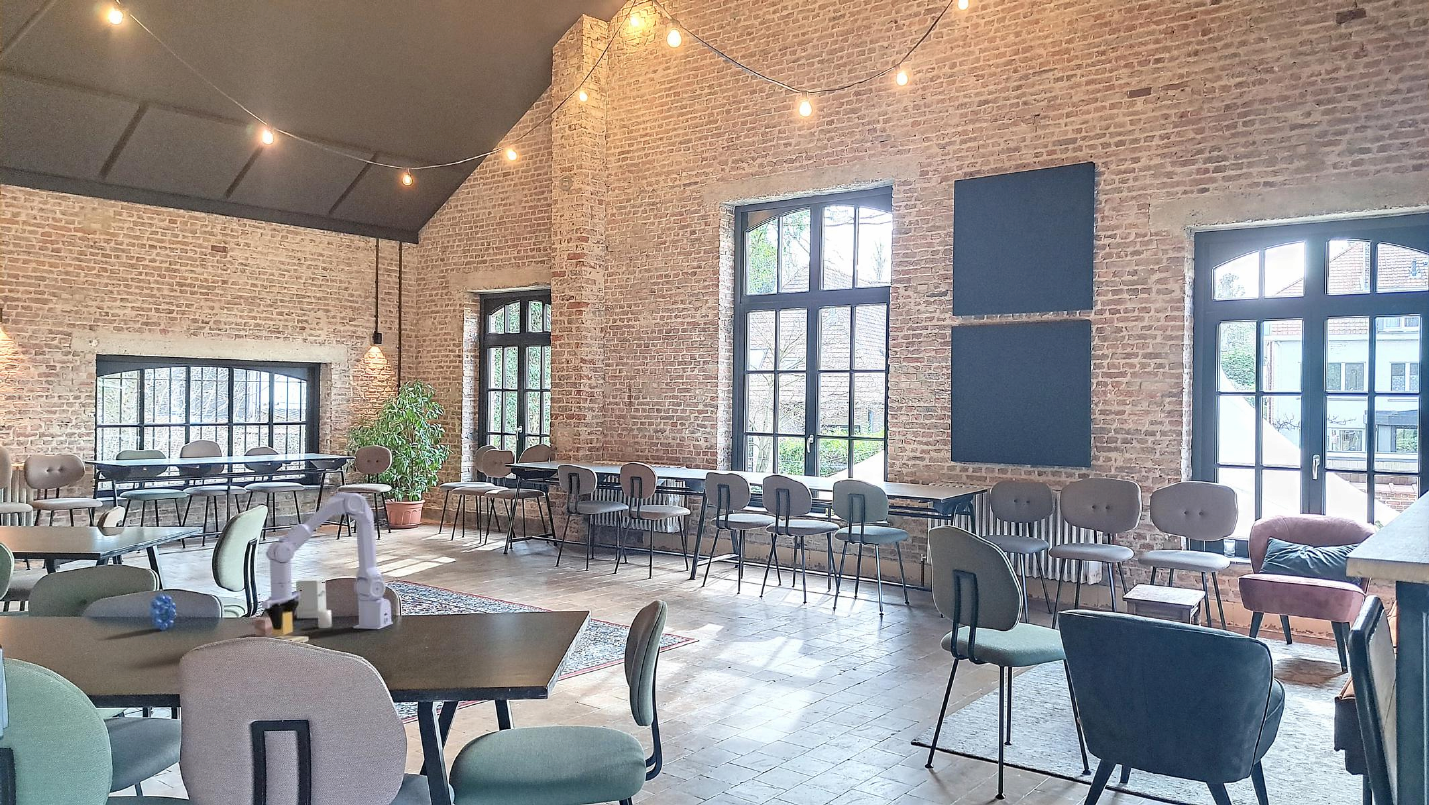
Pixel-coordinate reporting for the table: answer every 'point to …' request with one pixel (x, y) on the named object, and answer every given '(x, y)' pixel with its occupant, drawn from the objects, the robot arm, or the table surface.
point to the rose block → (263, 626)
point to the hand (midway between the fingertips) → (282, 627)
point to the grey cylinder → (324, 619)
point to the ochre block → (284, 624)
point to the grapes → (163, 611)
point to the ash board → (294, 638)
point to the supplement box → (311, 596)
